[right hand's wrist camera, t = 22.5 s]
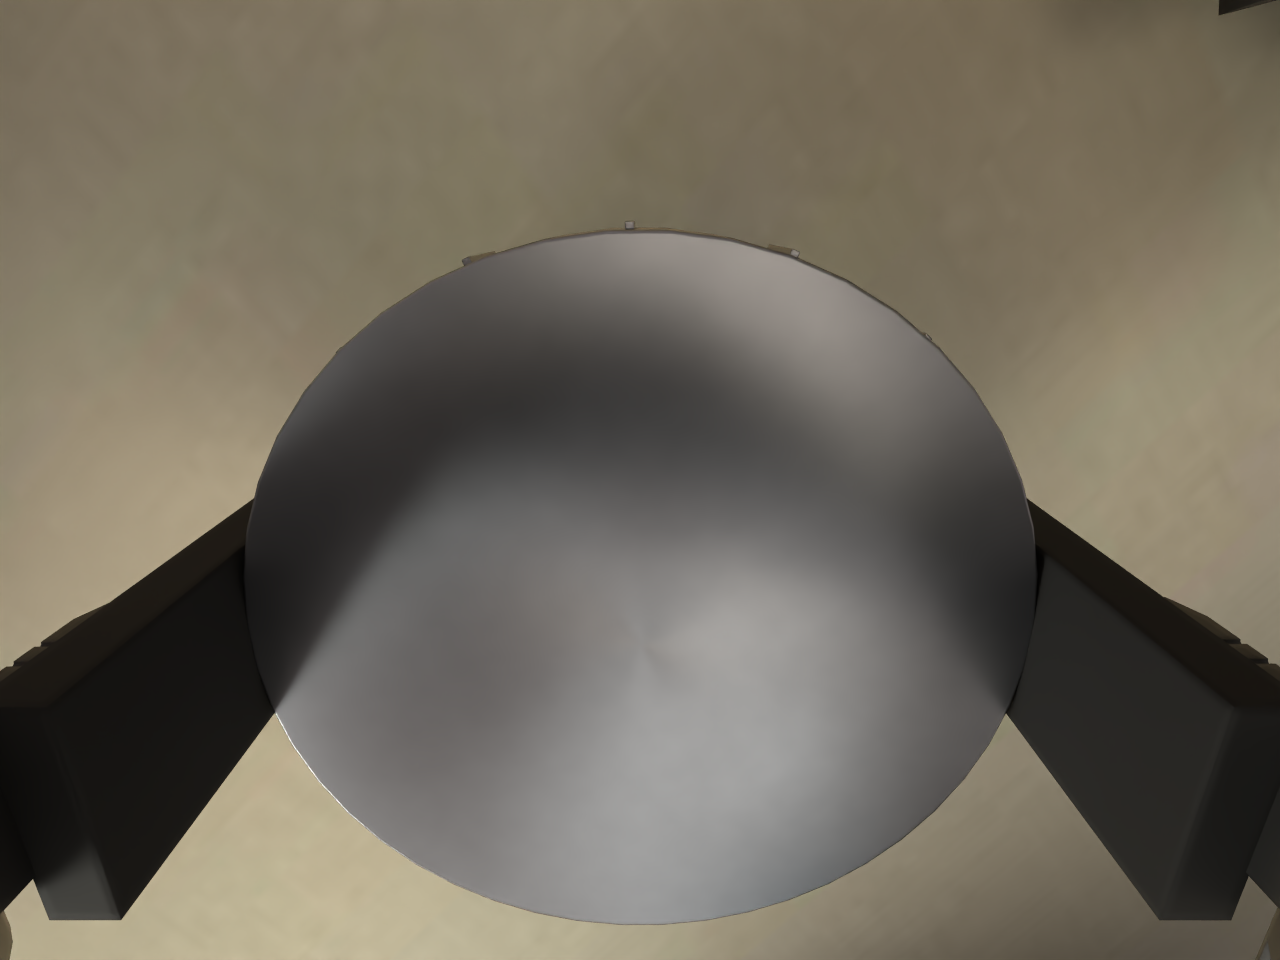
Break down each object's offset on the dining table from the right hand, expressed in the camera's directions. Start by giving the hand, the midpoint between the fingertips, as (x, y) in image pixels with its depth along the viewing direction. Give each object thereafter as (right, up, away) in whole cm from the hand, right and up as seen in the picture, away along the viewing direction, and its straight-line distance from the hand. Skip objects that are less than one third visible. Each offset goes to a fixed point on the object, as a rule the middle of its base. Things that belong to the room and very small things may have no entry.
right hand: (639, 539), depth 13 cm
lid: (0, -1, -3) cm, 3 cm away
